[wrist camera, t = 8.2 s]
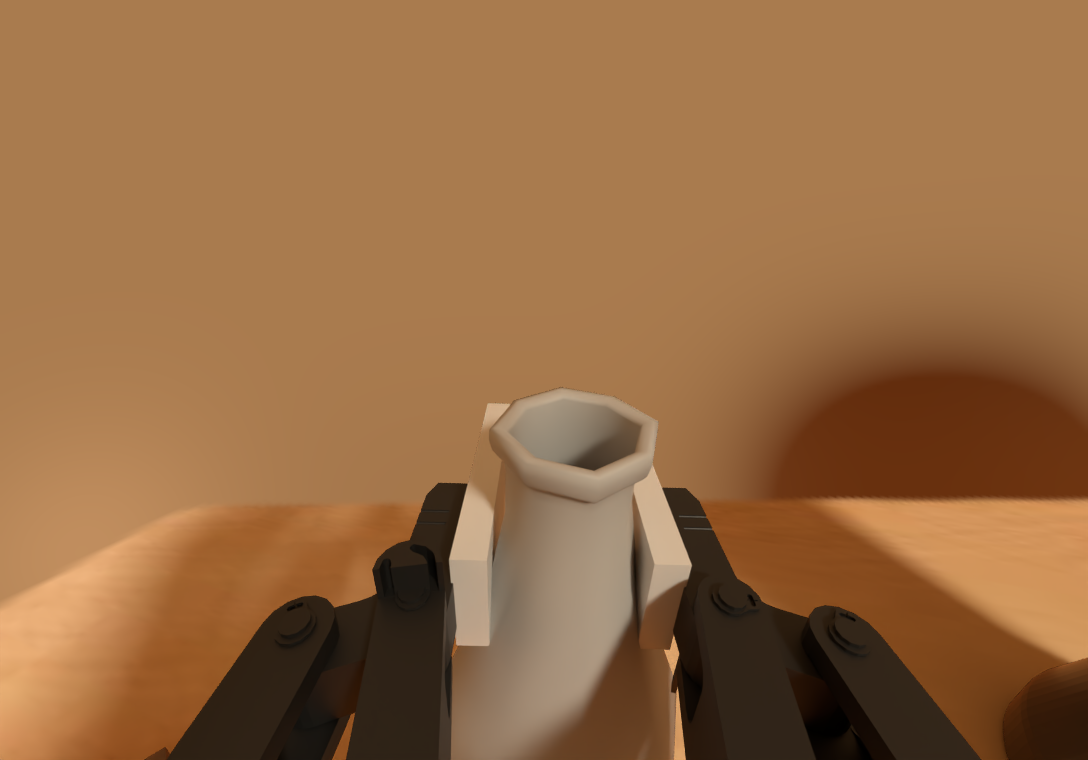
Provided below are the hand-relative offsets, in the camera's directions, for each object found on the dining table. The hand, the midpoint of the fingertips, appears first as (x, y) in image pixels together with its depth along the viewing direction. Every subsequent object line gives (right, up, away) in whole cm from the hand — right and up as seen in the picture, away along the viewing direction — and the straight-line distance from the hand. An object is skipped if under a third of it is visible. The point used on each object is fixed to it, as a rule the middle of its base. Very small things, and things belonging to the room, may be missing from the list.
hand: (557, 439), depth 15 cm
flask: (0, -8, -2) cm, 8 cm away
